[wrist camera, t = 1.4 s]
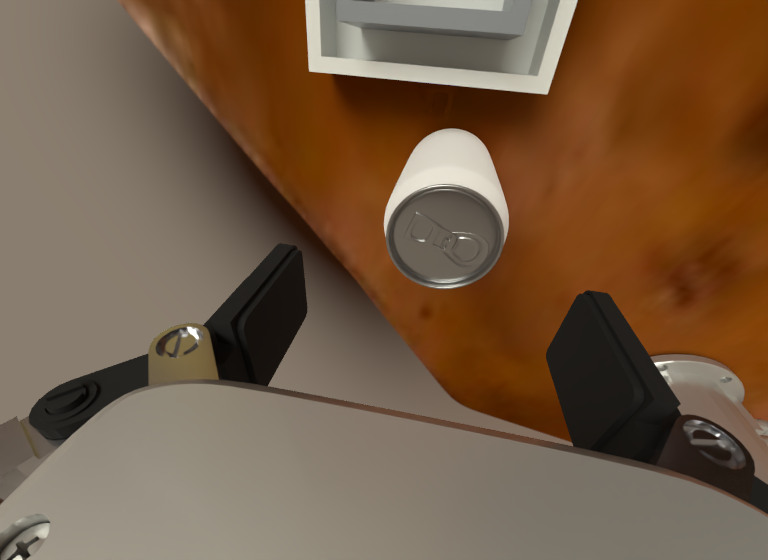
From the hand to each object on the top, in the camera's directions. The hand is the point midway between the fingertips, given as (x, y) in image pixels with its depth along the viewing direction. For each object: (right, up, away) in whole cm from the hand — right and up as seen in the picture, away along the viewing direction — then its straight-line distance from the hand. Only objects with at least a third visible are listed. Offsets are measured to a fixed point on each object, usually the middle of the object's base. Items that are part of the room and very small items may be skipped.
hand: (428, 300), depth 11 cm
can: (+4, +9, +14) cm, 17 cm away
